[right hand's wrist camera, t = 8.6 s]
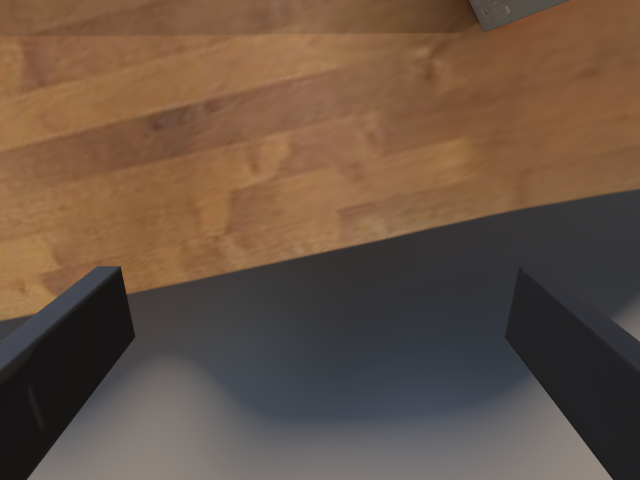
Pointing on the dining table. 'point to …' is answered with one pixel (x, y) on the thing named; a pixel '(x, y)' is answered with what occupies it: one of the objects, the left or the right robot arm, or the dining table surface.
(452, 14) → the dining table surface
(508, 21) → the hard drive box
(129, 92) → the dining table surface
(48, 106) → the dining table surface
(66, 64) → the dining table surface
